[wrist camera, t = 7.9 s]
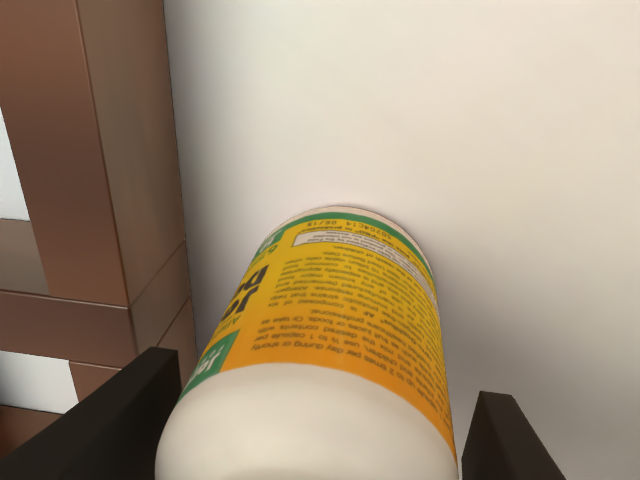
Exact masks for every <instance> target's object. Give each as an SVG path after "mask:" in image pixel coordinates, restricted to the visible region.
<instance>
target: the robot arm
mask: <svg viewBox="0 0 640 480" xmlns="http://www.w3.org/2000/svg"><path fill="white" fill-rule="evenodd" d="M182 392H183V391H182V382H181V374H180V366H179V358H178V350H174V349H167V348H159V347H152V346H151V347H149V348H148V349H147V350H145V351H144V352H143V353H142V354H140V355H139V356H138V357H136V358H135V359H134V360H133V361H131V362H130V363H129V364H128V365H126V366H125V367H124V368H122V369H121V370H120V371H119V372H117V373H116V374H115V375H114V376H112V377H111V378H110V379H109V380H107V381H106V382H105V383H104V384H102V385H101V386H100V387H99V388H97V389H96V390H95V391H94V392H92V393H91V394H90V395H88V396H87V397H86V398H85V399H83V400H82V401H81V402H79V403H78V404H77V405H75V406H74V407H73V408H71V409H70V410H69V411H68V412H66V413H65V414H64V415H62V416H61V417H60V418H58V419H57V420H56V421H54V422H53V423H52V424H50V425H49V426H47V427H46V428H45V429H43V430H42V431H40V432H39V433H38V434H36V435H35V436H33V437H32V438H31V439H29V440H28V441H26V442H25V443H23V444H22V445H21V446H19V447H18V448H16V449H15V450H14V451H12V452H11V453H9V454H8V455H6V456H5V457H3V458H2V459H0V480H155V460H156V453H157V448H158V444H159V441H160V438H161V435H162V432H163V430H164V428H165V425H166V423H167V421H168V419H169V417H170V415H171V413H172V411H173V409H174V407H175V405H176V403H177V401H178V399H179V397H180V396H181V394H182ZM461 460H462V480H566V478H565V477H564V475H563V474H562V473H561V471H560V470H559V468H558V467H557V465H556V464H555V462H554V461H553V459H552V458H551V456H550V455H549V453H548V451H547V450H546V448H545V447H544V445H543V444H542V442H541V441H540V439H539V438H538V436H537V434H536V433H535V431H534V430H533V428H532V426H531V425H530V423H529V422H528V420H527V418H526V417H525V415H524V414H523V412H522V410H521V409H520V407H519V405H518V404H517V402H516V401H515V399H514V398H513V397H512V395H508V394H500V393H493V392H485V391H480V392H479V396H478V400H477V403H476V407H475V411H474V414H473V418H472V422H471V425H470V429H469V433H468V436H467V440H466V444H465V448H464V451H463V455H462V459H461Z"/></svg>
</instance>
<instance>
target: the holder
mask: <svg viewBox="0 0 640 480" xmlns="http://www.w3.org/2000/svg"><path fill="white" fill-rule="evenodd" d="M0 107H1V111H2V115H3V118H4V122H5V126H6V130H7V134H8V137H9V141H10V145H11V149H12V153H13V156H14V160H15V164H16V168H17V172H18V175H19V179H20V183H21V187H22V191H23V194H24V198H25V202H26V206H27V210H28V213H29V217H30V221H31V222H25V221H16V220H7V219H0V350H1V351H8V352H16V353H23V354H30V355H37V356H44V357H51V358H58V359H65V360H69V367H70V371H71V374H72V378H73V382H74V386H75V390H76V393H77V397H78V401H79V402H81V401H82V400H83V399H85V398H86V397H87V396H88V395H90V394H91V393H92V392H94V391H95V390H96V389H97V388H99V387H100V386H101V385H102V384H104V383H105V382H106V381H107V380H109V379H110V378H111V377H112V376H114V375H115V374H116V373H117V372H119V371H120V370H121V369H122V368H124V367H125V366H126V365H128V364H129V363H130V362H131V361H133V360H134V359H135V358H136V357H138V356H139V355H140V354H142V353H143V352H144V351H145V350H147V349H148V348H149V347H151V346H152V347H159V348H167V349H174V350H178V358H179V366H180V374H181V382H182V391H183V390H184V388H185V386H186V384H187V382H188V380H189V378H190V377H191V375H192V373H193V371H194V369H195V367H196V365H197V354H196V344H195V333H194V323H193V313H192V303H191V296H190V284H189V274H188V263H187V253H186V243H185V240H184V239H185V227H184V217H183V206H182V196H181V186H180V176H179V165H178V155H177V145H176V135H175V124H174V114H173V104H172V94H171V84H170V73H169V63H168V53H167V43H166V32H165V22H164V12H163V2H162V0H0ZM61 416H62V415H59V414H53V413H46V412H40V411H33V410H27V409H20V408H14V407H7V406H1V405H0V459H2V458H3V457H5V456H6V455H8V454H9V453H11V452H12V451H14V450H15V449H16V448H18V447H19V446H21V445H22V444H23V443H25V442H26V441H28V440H29V439H31V438H32V437H33V436H35V435H36V434H38V433H39V432H40V431H42V430H43V429H45V428H46V427H47V426H49V425H50V424H52V423H53V422H54V421H56V420H57V419H58V418H60V417H61Z"/></svg>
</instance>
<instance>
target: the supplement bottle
mask: <svg viewBox="0 0 640 480" xmlns="http://www.w3.org/2000/svg"><path fill="white" fill-rule="evenodd" d="M155 480H459V474H458V464H457V456H456V449H455V443H454V435H453V426H452V418H451V410H450V403H449V395H448V387H447V378H446V371H445V363H444V355H443V346H442V337H441V328H440V318H439V311H438V303H437V295H436V288H435V282H434V278H433V274H432V271H431V268H430V266H429V264H428V262H427V260H426V258H425V256H424V254H423V252H422V251H421V249H420V248H419V247H418V245H417V244H416V243H415V241H414V240H413V239H412V238H411V237H410V236H409V235H408V234H407V233H406V232H405V231H404V230H402V229H401V228H400V227H399V226H397V225H396V224H394V223H393V222H391V221H390V220H388V219H386V218H384V217H382V216H380V215H377V214H375V213H372V212H369V211H366V210H361V209H357V208H351V207H341V206H332V207H326V208H318V209H314V210H310V211H307V212H304V213H302V214H299V215H297V216H295V217H292V218H290V219H289V220H287V221H286V222H284V223H283V224H281V225H280V226H278V227H277V228H276V229H275V230H273V231H272V232H271V233H270V234H269V235H268V236H267V237H266V238H265V240H264V241H263V243H262V244H261V246H260V247H259V249H258V251H257V253H256V254H255V256H254V258H253V260H252V262H251V264H250V266H249V268H248V270H247V272H246V273H245V275H244V277H243V279H242V281H241V283H240V285H239V287H238V289H237V290H236V292H235V294H234V296H233V298H232V300H231V301H230V304H229V306H228V307H227V309H226V311H225V313H224V315H223V317H222V319H221V321H220V323H219V325H218V327H217V328H216V330H215V332H214V333H213V336H212V338H211V339H210V341H209V343H208V345H207V347H206V348H205V350H204V352H203V354H202V356H201V358H200V360H199V362H198V364H197V365H196V367H195V369H194V371H193V373H192V375H191V377H190V378H189V380H188V382H187V384H186V386H185V388H184V390H183V392H182V394H181V396H180V397H179V399H178V401H177V403H176V405H175V407H174V409H173V411H172V413H171V415H170V417H169V419H168V421H167V423H166V425H165V428H164V430H163V432H162V435H161V438H160V441H159V444H158V448H157V453H156V460H155Z"/></svg>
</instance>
